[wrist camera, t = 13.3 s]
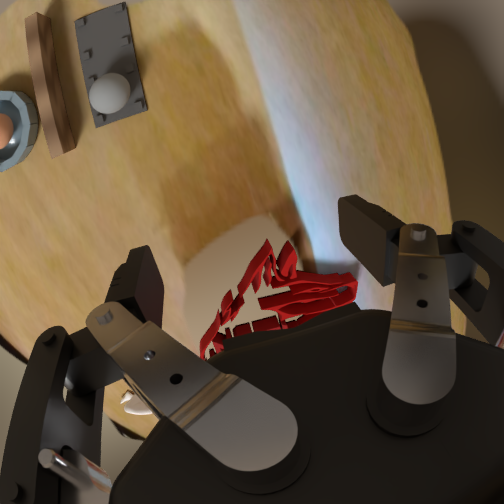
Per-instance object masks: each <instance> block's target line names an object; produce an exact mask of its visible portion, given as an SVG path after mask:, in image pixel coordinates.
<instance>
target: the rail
mask: <svg viewBox="0 0 504 504" xmlns="http://www.w3.org/2000/svg"><path fill="white" fill-rule="evenodd" d="M25 28H26V38H27V47H28V55H29V62H30V68H31V74H32V80H33V86H34V91H35V96H36V100H37V105H38V110H39V114H40V118H41V122H42V126H43V130H44V134H45V138H46V141H47V145H48V148H49V152H50V155H51V158H52V159H53V158H55V157H57V156H60V155H62V154H64V153H66V152H68V151H70V150H73V149H75V148H76V146H75V143H74V139H73V136H72V132H71V128H70V124H69V120H68V116H67V112H66V108H65V104H64V99H63V95H62V90H61V85H60V80H59V75H58V70H57V64H56V58H55V52H54V46H53V39H52V31H51V22H50V18H48V17H46V16H44V15H42V14H40V13H38V12H35V13H34V14H32V15H30V16H28V17H27V18H25Z"/></svg>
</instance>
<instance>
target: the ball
mask: <svg viewBox="0 0 504 504" xmlns="http://www.w3.org/2000/svg"><path fill="white" fill-rule="evenodd" d="M13 130H14V127H13V122H12V120H11V118H10V117H9V116H7V115H6V114H2V113H0V149H2V148H4V147H5V146H6V145H7V144H8V143H9V142H10V140H11V138H12V135H13Z"/></svg>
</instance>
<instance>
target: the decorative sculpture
mask: <svg viewBox="0 0 504 504" xmlns="http://www.w3.org/2000/svg"><path fill="white" fill-rule="evenodd" d="M268 256H269V257H268ZM296 263H297V255H296V252H295V250H294V248H293V247H292V245H291V244H290V242H289V241H288V240H287V241H286V243H285V244H284V246H283V247H282V249H281V251H280V253H279V255H278V257H277V260H276V258H275V256H274V254H273V249H272V247H271V245H270V243H269V241H268V239H266V241H265V242H264V244H263V246H262V247H261V248H260V250H259V251H258V252H257V253H256V255H255V256H254V257H253V259H252V260H251V261H250V263H249V265H248V267H247V269H246V271H245V274H244V276H243V277H242V279H241V281H240V282H239V284H238V285H237V288H238V292H239V293H238V295H237V296H236V297H235V299H234V300H233V297H232V292H231V289H230V290H229V291H228V292H227V293H226V294H225V296H224V297H223V299H222V302H221V309H222V310H221V312H220V313H219V309H218V311H217V315H216V318H215V320H214V321H213V323H212V324H211V326H210V327H209V328H208V330H207V331H206V333H205V334H204V335H203V337H202V338H201V340H200V358H201V359H203V360H204V359H205V360H204V361H206V360H207V358H205V350H206V348H207V346H208V345H209V343H210V342H211V341H212V342H213V345H214V347H215V349H216V352H215V351H214V349H213V348H212V349H209V353H210V358H211V357H212V356H214V355H215V354H217V353H219V352H221V351H223V350H224V348H223V342H222V340H224V339H228V338H232V335H231V331H230V328H229V327H227V328H225V332H226V334H223V333H220V332H218V330H219V327H220V325H221V326H222V325H224V324H225V323H226V322H228V321H229V320H230V319H231V321H233V319H234V318H235V317H236V315H237V314H238V311H239V309H240V307H241V306H242V305H243V304H244V303H245V302H244V299H243V294H244V293H245V291H246V290H247V288H248V287H249V285H250V283H252V286H253V289H254V292H255V293H256V292H257V290H258V289H259V287H260V284H261V273H262V269H263V266H264V267H265V271H264V274H263V278H264V281H265V283H266V285H267V287H268V286H269V284H271V286H272V288H273V289H274V288H279V287H284V286H289V288H290V290H288V291H285V292H281V293H276V294H272V295H268V296H264V297H260V298H258V301H259V304H260V307H261V310H272V311H276V312H277V313H278V318H279V322H278V319H277V317H276V315H273V316H270V317H266V318H262V319H258V320H255V321H251V322H252V326H253V330H254V332H256V331H266V330H278V329H288V328H294V327H296V326H298V325H300V324H302V323H304V322H306V321H308V320H310V319H312V318H314V317H315V316H317V315H319V314H321V313H323V312H325V311H328V310H331V309H334V308H337V307H340V306H343V305H346V304H349V303H352V302H353V301H354V300H355V298H356V293H357V286H358V282H357V280H356V279H355V278H354V277H353V276H352V274H351V273H350V272H348V273H345V274H342V275H338V273H334V274H327V275H323V274H315V273H308V272H303V271H302V270H296ZM276 264H277V266H278V268H279V269H276ZM271 268H272V270H273V272H274V274H275V276H271ZM342 286H348V288H347V290H345V291H343V292H341V293H338V291H337V290H336V289H337V288H339V287H342ZM329 297H330V298H329ZM324 298H325V299H324ZM318 299H322V300H318ZM314 300H318V301H314ZM301 314H303V315H302V316H300V317H299V318H298V319H297V320H291V321H288V322H285V319H287V318H291V317H294V316H298V315H301ZM279 324H280V325H279ZM248 333H252V330H251V327H250V323H249V322H247V323H243V324H239V325H236V326H235V327H234V328H233V335H234V337H236V336H240V335H244V334H248Z"/></svg>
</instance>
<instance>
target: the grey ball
mask: <svg viewBox="0 0 504 504" xmlns="http://www.w3.org/2000/svg"><path fill="white" fill-rule="evenodd" d="M129 97H130V85H129V83H128V81H127V79H126V78H125V77H123V76H122V75H120V74H117V73H108V74H105V75H102V76H100V77H99V78H98V79H97V80H96V81H95V82H94V83H93V85H92V86H91V89H90V92H89V99H90V103H91V105H92V107H93V108H94V109H95V110H97V111H98V112H100V113H105V114H110V113H114V112H117V111H119V110H120V109H121V108H123V107H124V106H125V104H126V103H127V101H128V99H129Z"/></svg>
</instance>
